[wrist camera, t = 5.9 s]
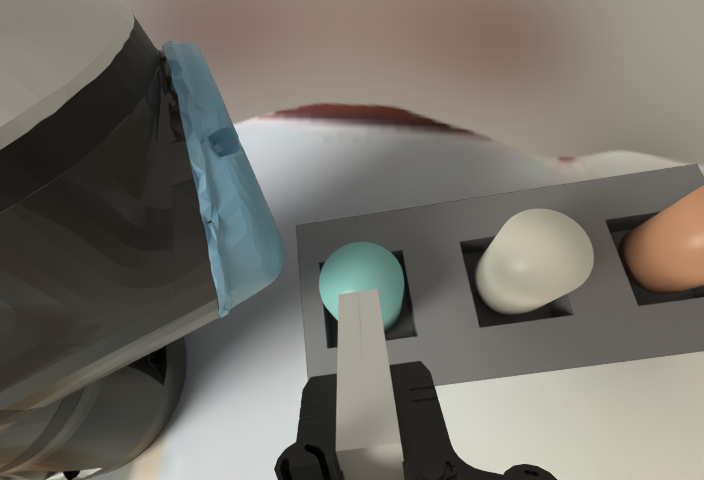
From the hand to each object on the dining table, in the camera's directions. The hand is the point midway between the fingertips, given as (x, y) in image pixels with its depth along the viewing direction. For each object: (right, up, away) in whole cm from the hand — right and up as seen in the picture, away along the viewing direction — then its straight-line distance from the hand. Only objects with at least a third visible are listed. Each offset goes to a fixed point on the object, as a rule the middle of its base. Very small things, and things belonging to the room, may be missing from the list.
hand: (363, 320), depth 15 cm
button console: (+10, -2, +17) cm, 20 cm away
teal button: (+1, -1, +10) cm, 10 cm away
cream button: (+9, +1, +9) cm, 13 cm away
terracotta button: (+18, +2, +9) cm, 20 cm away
